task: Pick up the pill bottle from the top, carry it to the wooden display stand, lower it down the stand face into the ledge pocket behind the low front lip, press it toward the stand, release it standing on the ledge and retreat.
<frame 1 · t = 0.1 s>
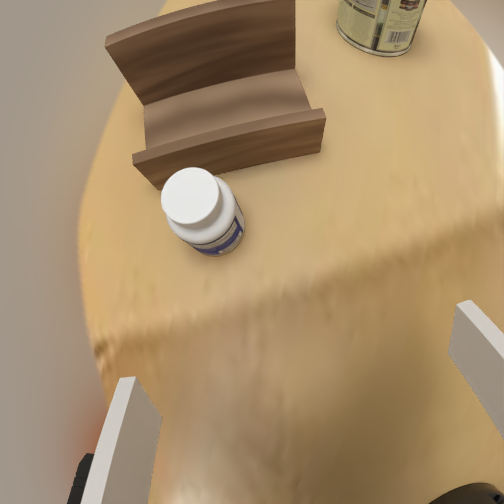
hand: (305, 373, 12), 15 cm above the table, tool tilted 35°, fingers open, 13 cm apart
coffee can: (373, 32, 33), on the table
wooden display stand: (225, 113, 32), on the table
pill bottle: (216, 228, 30), on the table
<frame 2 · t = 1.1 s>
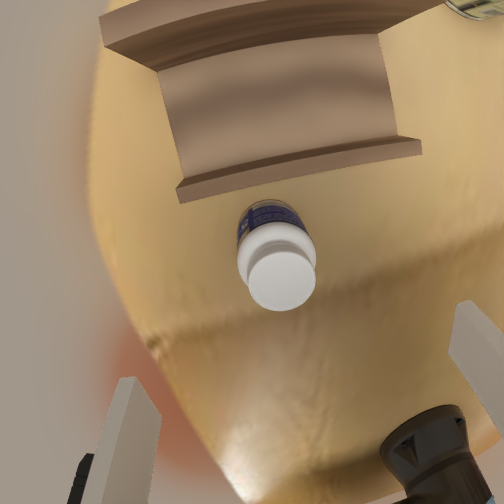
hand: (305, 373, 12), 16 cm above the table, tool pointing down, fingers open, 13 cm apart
wooden display stand: (274, 76, 22), on the table
pill bottle: (269, 229, 27), on the table
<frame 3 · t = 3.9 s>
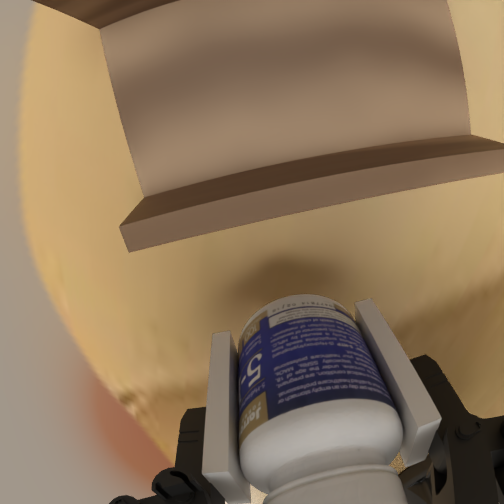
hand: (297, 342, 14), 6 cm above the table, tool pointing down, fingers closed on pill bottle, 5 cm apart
wooden display stand: (288, 35, 13), on the table
pill bottle: (296, 338, 14), point 5 cm above the table, touching gripper
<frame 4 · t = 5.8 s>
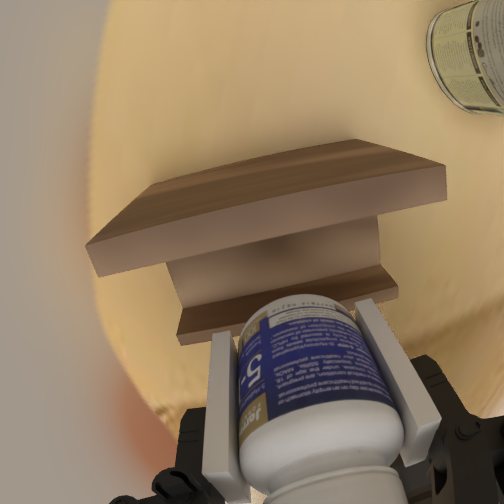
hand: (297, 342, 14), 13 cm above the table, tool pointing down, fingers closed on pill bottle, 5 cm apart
coffee can: (468, 60, 20), on the table
wooden display stand: (264, 206, 25), on the table
pill bottle: (296, 339, 14), point 13 cm above the table, touching gripper
when the fingers open (4 cm above the table, at t = 7.8 s): pill bottle stays where it is, resting on wooden display stand.
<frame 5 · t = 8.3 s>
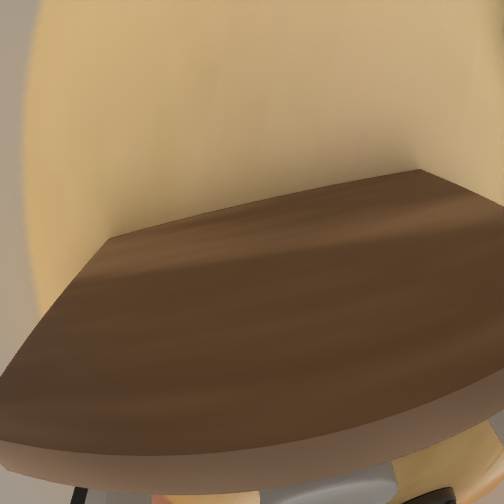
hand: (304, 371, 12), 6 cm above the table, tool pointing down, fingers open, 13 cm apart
wooden display stand: (281, 271, 16), on the table
pill bottle: (294, 327, 15), point 2 cm above the table, touching wooden display stand
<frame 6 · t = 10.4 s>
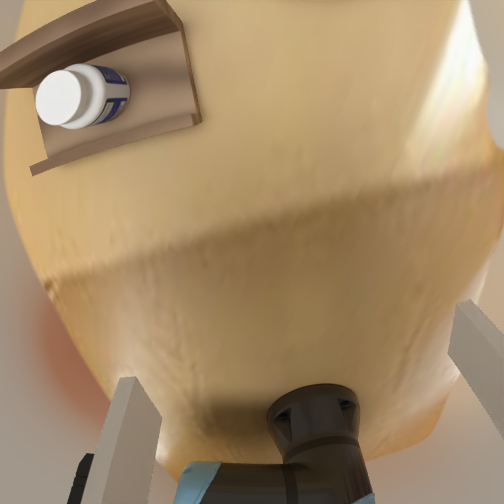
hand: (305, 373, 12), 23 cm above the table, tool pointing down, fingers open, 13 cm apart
wooden display stand: (111, 79, 26), on the table
pill bottle: (106, 95, 25), point 2 cm above the table, touching wooden display stand
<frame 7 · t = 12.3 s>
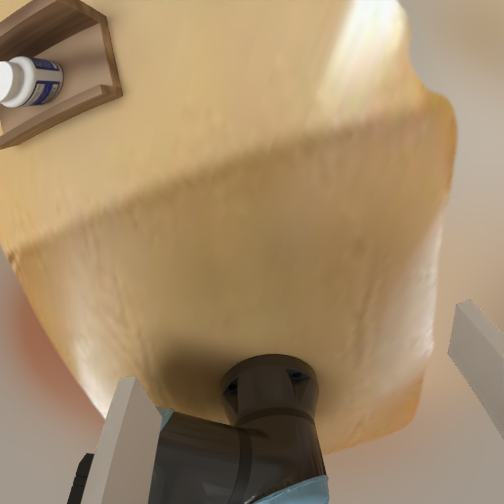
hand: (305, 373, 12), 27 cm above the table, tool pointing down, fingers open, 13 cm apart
wooden display stand: (53, 70, 28), on the table
pill bottle: (46, 82, 27), point 2 cm above the table, touching wooden display stand
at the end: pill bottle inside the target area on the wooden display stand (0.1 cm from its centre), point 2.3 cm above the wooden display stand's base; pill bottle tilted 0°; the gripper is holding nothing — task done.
